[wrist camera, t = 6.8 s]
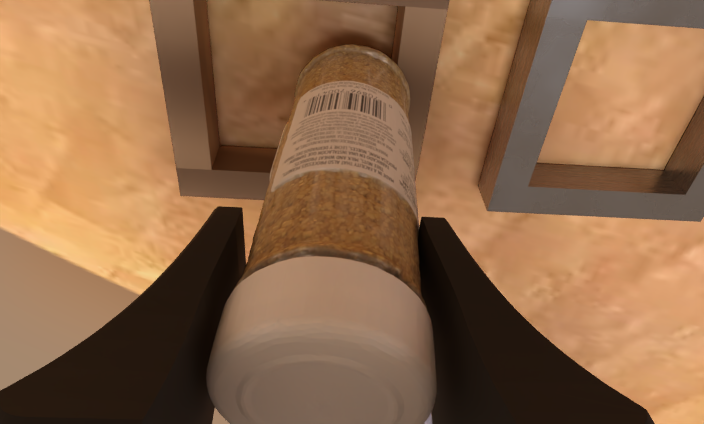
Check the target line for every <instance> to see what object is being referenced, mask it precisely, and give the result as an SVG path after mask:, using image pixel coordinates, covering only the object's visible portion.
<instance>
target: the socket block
mask: <svg viewBox="0 0 704 424" xmlns="http://www.w3.org/2000/svg"><path fill="white" fill-rule="evenodd" d="M587 20H594V21H607V22H621V23H634V24H648V25H661V26H675V27H688V28H702V29H704V0H530V4H529V7H528V11H527V14H526V18H525V21H524V25H523V28H522V32H521V36H520V39H519V43H518V46H517V50H516V53H515V57H514V60H513V64H512V67H511V71H510V75H509V78H508V82H507V85H506V89H505V92H504V96H503V99H502V103H501V106H500V110H499V114H498V117H497V121H496V124H495V128H494V131H493V135H492V138H491V142H490V145H489V149H488V153H487V156H486V160H485V163H484V167H483V170H482V174H481V177H480V181H479V184H478V187H479V190H480V193H481V195H482V198H483V201H484V204H485V207H486V209H487V211H496V212H516V213H536V214H556V215H577V216H597V217H617V218H637V219H657V220H678V221H698V222H701V220H702V219H703V217H704V98H703V100H702V102H701V104H700V105H699V107H698V109H697V111H696V113H695V115H694V116H693V118H692V120H691V122H690V124H689V126H688V127H687V129H686V131H685V133H684V135H683V137H682V138H681V140H680V142H679V144H678V146H677V148H676V149H675V151H674V153H673V155H672V157H671V159H670V160H669V162H668V164H667V166H666V168H665V170H648V169H630V168H612V167H594V166H576V165H558V164H541V163H536V162H537V160H538V157H539V154H540V151H541V148H542V146H543V143H544V140H545V137H546V134H547V131H548V129H549V126H550V123H551V120H552V117H553V115H554V112H555V109H556V106H557V103H558V101H559V98H560V95H561V92H562V89H563V87H564V84H565V81H566V78H567V75H568V72H569V70H570V67H571V64H572V61H573V58H574V56H575V53H576V50H577V47H578V44H579V42H580V39H581V36H582V33H583V30H584V28H585V25H586V22H587Z"/></svg>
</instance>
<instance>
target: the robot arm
mask: <svg viewBox="0 0 704 424" xmlns="http://www.w3.org/2000/svg"><path fill="white" fill-rule="evenodd" d="M418 250H419V260H420V263H419V270H420V278H421V295H422V297H423V299H424V302H425V304H426V307H427V311H428V314H429V316H430V319H431V322H432V329H433V338H434V350H435V366H436V382H437V394H436V399H435V404H434V407H433V410H432V412H431V414H430V416H429V417H428V419H427V420H426V421H425V423H424V424H654V422H653V420H652V418H651V417H650V415H649V413H648V412H647V410H646V409H645V408H643V407H641V406H640V405H638V404H637V403H635V402H633V401H632V400H630V399H629V398H627V397H626V396H624V395H622V394H621V393H619V392H618V391H616V390H615V389H613V388H611V387H610V386H608V385H607V384H605V383H604V382H602V381H601V380H599V379H598V378H597V377H595V376H594V375H592V374H591V373H590V372H588V371H587V370H585V369H584V368H583V367H581V366H580V365H579V364H577V363H576V362H575V361H573V360H572V359H571V358H570V357H568V356H567V355H566V354H564V353H563V352H562V351H561V350H560V349H558V348H557V347H556V346H555V345H554V344H552V343H551V342H550V341H549V340H548V339H547V338H545V337H544V336H543V335H542V334H541V333H540V332H539V331H537V330H536V329H535V328H534V327H533V326H532V325H531V324H530V323H529V322H528V321H527V320H526V319H525V318H524V317H523V316H522V315H521V314H520V313H519V312H518V311H517V310H516V309H515V308H514V307H513V306H512V305H511V304H510V303H509V302H508V301H507V300H506V298H505V297H504V296H503V295H502V294H501V293H500V291H499V290H498V289H497V288H496V287H495V286H494V284H493V283H492V282H491V281H490V280H489V278H488V277H487V276H486V275H485V273H484V272H483V271H482V269H481V268H480V267H479V265H478V264H477V263H476V262H475V260H474V259H473V258H472V256H471V255H470V253H469V252H468V251H467V249H466V248H465V246H464V245H463V244H462V242H461V241H460V239H459V238H458V236H457V235H456V233H455V232H454V230H453V229H452V228H451V226H450V225H449V223H448V222H447V220H446V219H445V218H434V217H422V218H421V222H420V227H419V235H418ZM245 266H246V258H245V242H244V227H243V212H242V208H239V207H219V206H218V207H217V208H216V209H215V210H214V211H213V212H212V214H211V215H210V217H209V218H208V220H207V221H206V222H205V224H204V225H203V226H202V228H201V229H200V230H199V232H198V233H197V234H196V235H195V237H194V238H193V239H192V240H191V242H190V243H189V244H188V245H187V246H186V248H185V249H184V250H183V251H182V252H181V253H180V255H179V256H178V257H177V258H176V259H175V260H174V262H173V263H172V264H171V265H170V266H169V267H168V268H167V269H166V270H165V271H164V272H163V273H162V274H161V275H160V276H159V277H158V278H157V280H156V281H155V282H154V283H153V284H152V285H151V286H150V287H149V288H148V289H146V290H145V291H144V292H143V293H142V294H141V295H140V296H139V297H138V298H137V299H136V300H135V301H133V302H132V303H131V304H130V305H129V306H128V307H127V308H125V309H124V310H123V311H122V312H121V313H119V314H118V315H117V316H116V317H114V318H113V319H112V320H111V321H109V322H108V323H107V324H106V325H104V326H103V327H102V328H101V329H99V330H98V331H96V332H95V333H94V334H92V335H91V336H90V337H88V338H87V339H85V340H84V341H82V342H81V343H80V344H78V345H77V346H75V347H74V348H72V349H71V350H69V351H68V352H66V353H65V354H63V355H62V356H60V357H58V358H57V359H55V360H54V361H52V362H50V363H49V364H47V365H45V366H44V367H42V368H41V369H39V370H37V371H35V372H33V373H32V374H30V375H28V376H26V377H24V378H23V379H21V380H19V381H17V382H16V383H14V384H12V385H10V386H8V387H7V388H5V389H3V390H1V391H0V424H212V420H213V414H214V408H215V406H214V405H213V402H212V400H211V398H210V396H209V393H208V389H207V383H206V373H207V366H208V362H209V358H210V354H211V350H212V346H213V343H214V339H215V335H216V332H217V328H218V325H219V322H220V319H221V316H222V312H223V309H224V306H225V304H226V301H227V300H228V298H229V296H230V295H231V293H232V292H233V290H234V288H235V286H236V284H237V282H238V281H239V280H240V279H241V278H242V277H243V273H244V270H245Z"/></svg>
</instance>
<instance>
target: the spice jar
mask: <svg viewBox="0 0 704 424" xmlns="http://www.w3.org/2000/svg"><path fill="white" fill-rule="evenodd" d="M409 108H410V90H409V85H408V83H407V81H406V79H405V76H404V74H403V72H402V71H401V69H400V68H399V67H398V66H397V64H396V63H395V62H394V61H393V60H391V59H390V58H389V57H388V56H387V55H385V54H384V53H382V52H381V51H379V50H376V49H373V48H370V47H367V46H358V45H355V44H351V45H342V46H335V47H332V48H329V49H327V50H325V51H324V52H322V53H320V54H319V55H317V56H316V57H314V58H313V59H312V60H311V61H310V62H309V63H308V64H307V65H306V66H305V68H304V69H303V70H302V72H301V74H300V76H299V78H298V82H297V86H296V89H295V102H294V105H293V108H292V112H291V115H290V118H289V121H288V123H287V124H286V125H285V127H284V130H283V133H282V136H281V139H280V143H279V146H278V149H277V152H276V156H275V159H274V162H273V165H272V169H271V172H270V183H269V186H268V189H267V193H266V197H265V200H264V203H263V207H262V210H261V214H260V218H259V222H258V225H257V228H256V231H255V234H254V237H253V243H252V246H251V250H250V254H249V258H248V262H247V264H246V266H245V270H244V273H243V277H242V278H241V279H240V280H239V281H238V282H237V284H236V286H235V288H234V290H233V292H232V293H231V295H230V296H229V298H228V300H227V301H226V304H225V306H224V309H223V312H222V316H221V319H220V322H219V325H218V328H217V332H216V335H215V339H214V343H213V346H212V350H211V354H210V358H209V362H208V366H207V373H206V383H207V389H208V393H209V396H210V398H211V400H212V402H213V405H214V406H215V408H216V409H217V410H218V412H219V413H220V414H221V415H222V416H223V417H224V418H225V419H226V420H227V421H228V422H229V423H230V424H424V423H425V421H426V420H427V419H428V417H429V416H430V414H431V412H432V410H433V407H434V404H435V399H436V394H437V382H436V366H435V350H434V338H433V329H432V322H431V319H430V316H429V314H428V311H427V307H426V304H425V302H424V299H423V297H422V295H421V278H420V270H419V263H420V260H419V250H418V235H419V221H418V210H417V198H416V185H415V170H414V157H413V145H412V134H411V128H410V124H409V117H408V112H409Z"/></svg>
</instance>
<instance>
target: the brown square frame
mask: <svg viewBox="0 0 704 424" xmlns="http://www.w3.org/2000/svg"><path fill="white" fill-rule="evenodd" d="M325 1H338V2H351V3H365V4H378V5H392V6H398V12H397V20H396V28H395V35H394V43H393V51H392V59H391V60H393V61H394V62H395V63H396V64H397V66H398V67H399V68H400V69H401V71H402V72H403V74H404V76H405V79H406V81H407V83H408V85H409V90H410V108H409V112H408V117H409V124H410V128H411V134H412V145H413V157H414V170H415V181H416V175H417V170H418V165H419V159H420V154H421V149H422V143H423V138H424V133H425V127H426V122H427V117H428V111H429V106H430V101H431V95H432V90H433V85H434V79H435V74H436V69H437V63H438V58H439V53H440V47H441V42H442V37H443V32H444V26H445V21H446V16H447V10H448V5H449V0H325ZM149 2H150V8H151V14H152V21H153V27H154V33H155V39H156V45H157V52H158V58H159V64H160V70H161V77H162V83H163V89H164V95H165V101H166V108H167V114H168V120H169V126H170V133H171V139H172V145H173V151H174V157H175V164H176V170H177V176H178V182H179V189H180V195H181V196H193V197H213V198H233V199H253V200H265V197H266V193H267V189H268V186H269V183H270V172H271V169H272V165H273V162H274V159H275V156H276V152H277V149H272V148H254V147H236V146H220V141H219V131H218V120H217V109H216V99H215V88H214V78H213V67H212V57H211V46H210V35H209V25H208V14H207V4H206V0H149Z"/></svg>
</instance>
